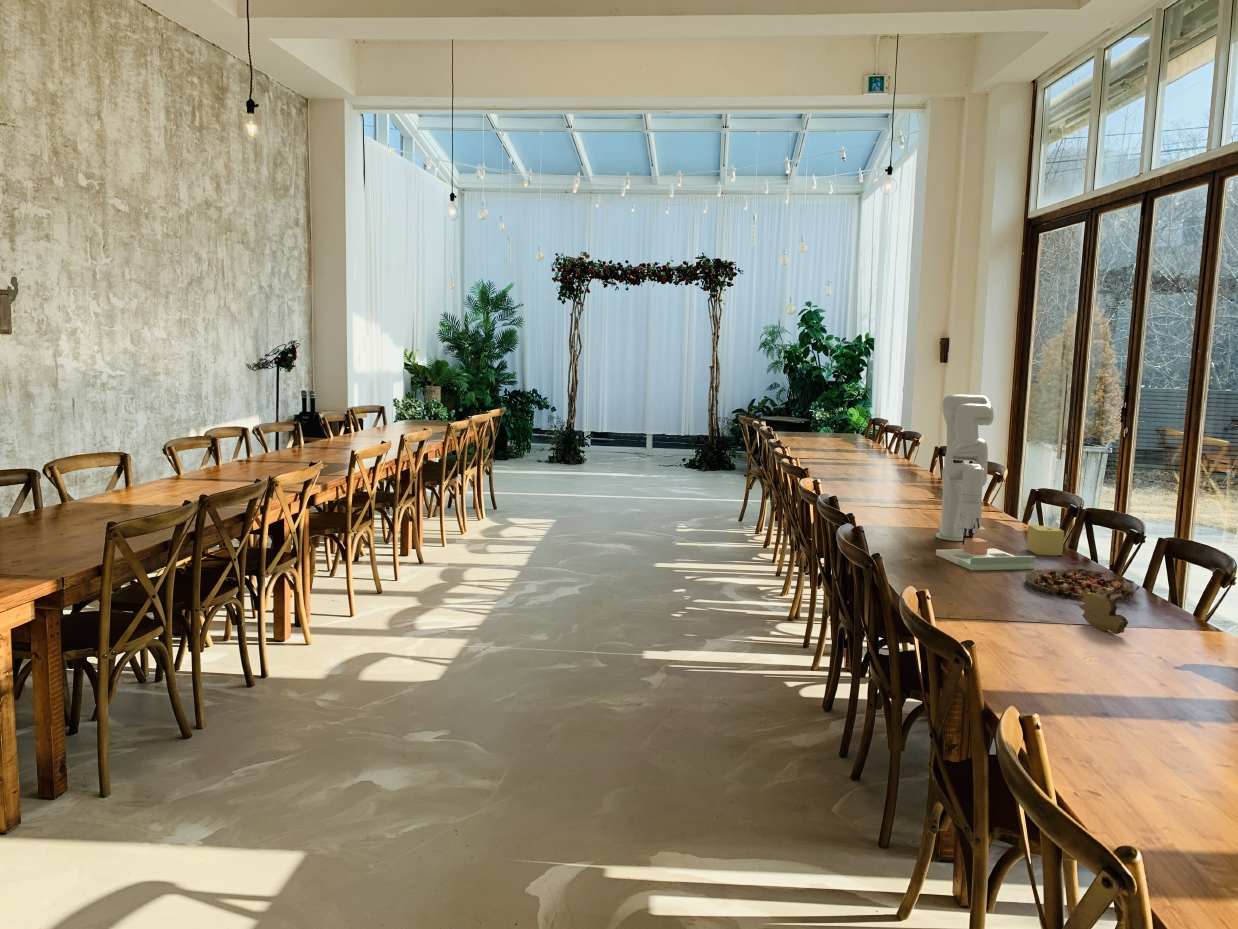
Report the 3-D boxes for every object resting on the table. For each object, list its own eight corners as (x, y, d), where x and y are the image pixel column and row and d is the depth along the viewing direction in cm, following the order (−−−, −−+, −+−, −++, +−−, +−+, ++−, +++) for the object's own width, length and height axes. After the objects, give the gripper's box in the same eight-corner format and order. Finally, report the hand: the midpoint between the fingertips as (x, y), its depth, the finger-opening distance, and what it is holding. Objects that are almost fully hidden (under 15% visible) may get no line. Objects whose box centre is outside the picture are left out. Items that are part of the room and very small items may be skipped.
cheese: (1052, 550, 352) (1054, 525, 350) (1063, 556, 341) (1065, 531, 340) (1025, 549, 353) (1027, 524, 351) (1035, 555, 342) (1037, 530, 341)
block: (963, 551, 337) (964, 538, 336) (977, 550, 338) (978, 538, 337) (972, 554, 331) (973, 541, 330) (986, 554, 332) (988, 541, 331)
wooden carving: (1132, 638, 242) (1135, 602, 241) (1119, 639, 241) (1122, 603, 240) (1085, 620, 258) (1088, 587, 257) (1072, 621, 257) (1075, 588, 255)
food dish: (1154, 613, 271) (1156, 588, 270) (1038, 606, 278) (1040, 582, 277) (1114, 580, 305) (1116, 558, 304) (1012, 575, 312) (1014, 554, 311)
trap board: (935, 554, 338) (936, 543, 338) (994, 553, 343) (995, 542, 342) (971, 570, 315) (972, 558, 314) (1034, 568, 319) (1035, 556, 319)
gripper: (951, 495, 344) (948, 541, 346) (973, 502, 329) (969, 550, 331) (968, 495, 345) (965, 541, 347) (991, 502, 330) (987, 549, 333)
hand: (967, 545), depth 339 cm, fingers closed
